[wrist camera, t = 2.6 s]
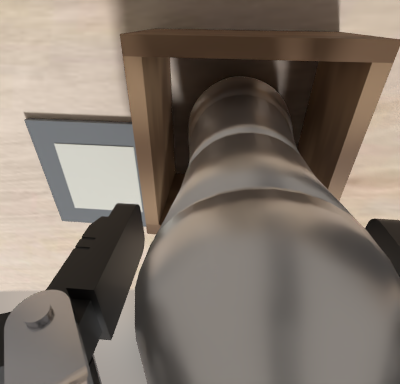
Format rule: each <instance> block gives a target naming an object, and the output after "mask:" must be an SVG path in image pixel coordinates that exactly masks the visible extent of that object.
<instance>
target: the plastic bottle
mask: <svg viewBox="0 0 400 384" xmlns="http://www.w3.org/2000/svg"><path fill="white" fill-rule="evenodd" d="M188 141H189V149H190V157H189V165H188V168H187V171H186V174H185V177H184V180H183V183H182V186H181V188H180V191H179V193H178V195H177V197H176V198H175V200H174V202H173V204H172V206H171V208H170V210H169V212H168V214H167V215H166V217H165V219H164V221H163V223H162V225H161V227H160V229H159V230H158V232H157V234H156V236H155V238H154V240H153V242H152V243H151V245H150V247H149V250H148V252H147V255H146V257H145V260H144V262H143V264H142V267H141V269H140V271H139V275H138V279H137V283H136V287H135V332H136V341H137V345H138V349H139V353H140V356H141V361H142V364H143V368H144V372H145V376H146V380H147V384H400V277H399V276H398V274H397V272H396V270H395V268H394V266H393V265H392V263H391V261H390V259H389V258H388V257H387V256H386V254H385V253H384V252H383V251H382V249H381V248H380V247H379V246H378V244H377V243H376V242H375V240H374V239H373V238H372V237H371V235H370V234H369V233H368V231H367V230H366V229H365V228H364V227H363V226H362V225H361V224H360V223H359V222H358V221H357V220H356V219H355V218H354V217H353V216H352V215H351V214H350V213H349V212H348V210H347V209H346V208H345V207H344V206H343V205H342V204H341V203H340V202H339V201H338V200H337V199H336V198H335V197H334V196H333V195H332V194H331V192H330V191H329V190H328V189H327V188H326V187H325V186H324V185H323V184H322V183H321V182H320V181H319V180H318V179H317V178H316V177H315V175H314V174H313V172H312V171H311V169H310V168H309V166H308V165H307V163H306V162H305V160H304V159H303V157H302V156H301V155H300V153H299V151H298V150H297V147H296V144H295V141H294V138H293V128H292V122H291V117H290V114H289V111H288V108H287V105H286V103H285V102H284V100H283V98H282V97H281V96H280V94H279V93H278V92H277V91H276V90H275V89H274V88H272V87H271V86H269V85H268V84H267V83H265V82H263V81H260V80H258V79H255V78H250V77H244V76H237V77H230V78H226V79H223V80H221V81H219V82H217V83H215V84H213V85H212V86H210V87H209V88H208V89H207V90H206V91H204V92H203V93H202V95H201V96H200V97H199V98H198V99H197V101H196V103H195V105H194V106H193V108H192V110H191V114H190V118H189V124H188Z"/></svg>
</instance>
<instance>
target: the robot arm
mask: <svg viewBox="0 0 400 384" xmlns="http://www.w3.org/2000/svg"><path fill="white" fill-rule="evenodd" d="M365 229H366V230H367V231H368V233H369V234H370V235H371V237H372V238H373V239H374V240H375V242H376V243H377V244H378V246H379V247H380V248H381V249H382V251H383V252H384V253H385V254H386V256H387V257H388V258H389V259H390V261H391V263H392V265H393V266H394V268H395V270H396V272H397V274H398V276H399V277H400V221H399V220H388V219H371V220H370V221H369V222H368V224H367V226H366V228H365ZM144 240H145V238H144V230H143V222H142V215H141V209H140V206H139V205H138V204H125V203H117V204H116V205H115V207H114V208H113V210H112V212H111V213H110V215H109V217H105V216H101V217H100V218H99V219H97V220H96V221H95V222H93V223H92V224H91V225H89V227H88V228H87V230H86V231H85V233H84V234H83V236H82V239H80V240H79V242H78V243H77V245H76V248H75V249H73V251H72V252H71V254H70V255H69V257H68V258H67V260H66V261H65V263H64V264H63V266H62V267H61V269H60V270H59V272H58V273H57V275H56V276H55V278H54V279H53V281H52V282H51V284H50V285H49V287H48V288H47V289H46V290H45V291H41V292H38V293H36V294H33V295H31V296H30V297H28V298H26V299H25V300H23V301H22V302H21V303H19V304H18V305H17V306H16V307H15V308H14V309H13V311H12V312H8V313H4V314H0V384H102V383H101V379H100V376H99V372H98V368H97V365H96V361H95V357H94V355H93V353H94V351H95V348H96V346H97V343H98V341H99V339H104V340H111V339H112V337H113V334H114V331H115V328H116V325H117V323H118V320H119V317H120V314H121V311H122V309H123V306H124V303H125V300H126V298H127V295H128V292H129V289H130V286H131V284H132V281H133V278H134V275H135V272H136V270H137V267H138V264H139V261H140V259H141V256H142V253H143V249H144Z"/></svg>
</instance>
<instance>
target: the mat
mask: <svg viewBox="0 0 400 384" xmlns="http://www.w3.org/2000/svg"><path fill="white" fill-rule="evenodd" d="M25 123H26V126H27V128H28V131H29V134H30V136H31V139H32V142H33V144H34V147H35V150H36V152H37V155H38V158H39V160H40V163H41V166H42V168H43V171H44V174H45V176H46V179H47V182H48V184H49V187H50V190H51V192H52V195H53V198H54V200H55V203H56V206H57V208H58V211H59V214H60V216H61V219H62V221H71V222H86V223H93V222H95V221H96V220H97V219H99V218H100V217H101V216H105V217H109V215H110V213H111V212H112V210H113V208H114V207H115V205H116V204H117V203H125V204H138V205H139V206H140V209H141V215H142V222H143V226H146V220H145V213H144V206H143V199H142V191H141V184H140V177H139V170H138V162H137V155H136V148H135V141H134V133H133V126H132V123H131V122H106V121H82V120H58V119H33V118H27V119H25Z"/></svg>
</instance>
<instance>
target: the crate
mask: <svg viewBox="0 0 400 384" xmlns="http://www.w3.org/2000/svg"><path fill="white" fill-rule="evenodd" d="M120 39H121V46H122V54H123V61H124V68H125V75H126V83H127V90H128V97H129V104H130V112H131V119H132V126H133V133H134V141H135V148H136V155H137V162H138V170H139V177H140V184H141V191H142V199H143V206H144V213H145V220H146V228H147V234H157V232H158V230H159V229H160V227H161V225H162V223H163V221H164V219H165V217H166V215H167V214H168V212H169V210H170V208H171V206H172V204H173V202H174V200H175V198H176V197H177V195H178V193H179V191H180V188H181V186H182V183H183V180H184V177H185V174H179V173H175V157H174V135H173V114H172V93H171V72H170V57H173V58H213V59H252V60H291V61H319V62H318V66H317V70H316V74H315V78H314V82H313V86H312V90H311V95H310V99H309V103H308V107H307V111H306V115H305V119H304V123H303V127H302V131H301V136H300V140H299V144H298V148H297V150H298V151H299V153H300V155H301V156H302V157H303V159H304V160H305V162H306V163H307V165H308V166H309V168H310V169H311V171H312V172H313V174H314V175H315V177H316V178H317V179H318V180H319V181H320V182H321V183H322V184H323V185H324V186H325V187H326V188H327V189H328V190H329V191H330V192H331V194H332V195H333V196H334V197H335V198H336V199H337V200H338V201H339V200H340V198H341V195H342V192H343V190H344V187H345V185H346V182H347V180H348V177H349V175H350V172H351V169H352V167H353V164H354V162H355V159H356V157H357V154H358V152H359V149H360V146H361V144H362V141H363V139H364V136H365V134H366V131H367V129H368V126H369V123H370V121H371V118H372V116H373V113H374V111H375V108H376V106H377V103H378V100H379V98H380V95H381V93H382V90H383V88H384V85H385V83H386V80H387V77H388V75H389V72H390V70H391V67H392V65H393V62H394V59H395V57H396V54H397V52H398V49H399V47H400V39H392V38H384V37H376V36H368V35H360V34H352V33H344V32H314V31H260V30H206V29H150V30H143V31H137V32H130V33H124V34H120Z"/></svg>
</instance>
